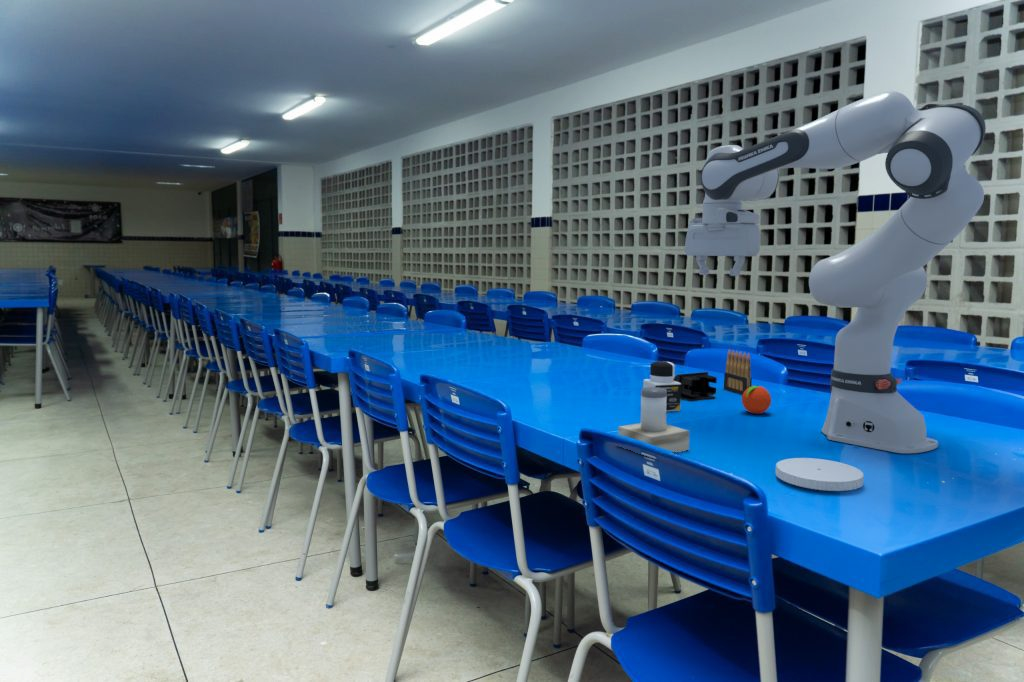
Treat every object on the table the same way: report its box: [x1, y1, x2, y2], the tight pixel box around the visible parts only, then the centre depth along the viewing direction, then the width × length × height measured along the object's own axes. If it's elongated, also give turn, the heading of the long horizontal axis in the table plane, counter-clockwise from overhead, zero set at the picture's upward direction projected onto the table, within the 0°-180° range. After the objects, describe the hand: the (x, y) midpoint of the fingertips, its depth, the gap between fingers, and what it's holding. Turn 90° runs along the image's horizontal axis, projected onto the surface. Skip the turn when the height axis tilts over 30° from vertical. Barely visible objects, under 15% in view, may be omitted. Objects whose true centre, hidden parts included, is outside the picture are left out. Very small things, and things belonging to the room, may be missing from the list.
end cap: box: [673, 371, 718, 402], centre depth 198 cm, size 10×7×7 cm
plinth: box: [617, 422, 690, 454], centre depth 147 cm, size 10×10×4 cm
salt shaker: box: [640, 387, 667, 432], centre depth 146 cm, size 5×5×8 cm
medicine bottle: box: [642, 360, 682, 412], centre depth 184 cm, size 7×7×12 cm
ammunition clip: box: [723, 348, 753, 396], centre depth 206 cm, size 11×2×12 cm, turn 18°
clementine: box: [741, 384, 772, 415], centre depth 179 cm, size 8×7×7 cm
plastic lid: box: [775, 457, 865, 492], centre depth 126 cm, size 14×14×2 cm
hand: (719, 275), depth 173 cm, fingers open, 8 cm apart
